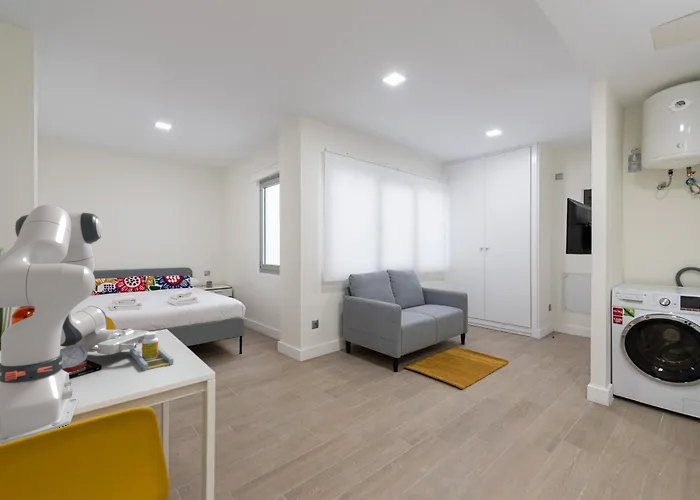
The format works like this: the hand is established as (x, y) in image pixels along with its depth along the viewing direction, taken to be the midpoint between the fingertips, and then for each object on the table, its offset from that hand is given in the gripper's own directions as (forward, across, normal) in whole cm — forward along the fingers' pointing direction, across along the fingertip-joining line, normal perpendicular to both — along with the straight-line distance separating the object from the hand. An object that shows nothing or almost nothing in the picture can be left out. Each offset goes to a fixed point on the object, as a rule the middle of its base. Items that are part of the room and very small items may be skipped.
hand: (144, 342), depth 127 cm
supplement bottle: (+2, 0, +6) cm, 7 cm away
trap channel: (+3, 0, +6) cm, 7 cm away
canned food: (-15, -16, +6) cm, 23 cm away
